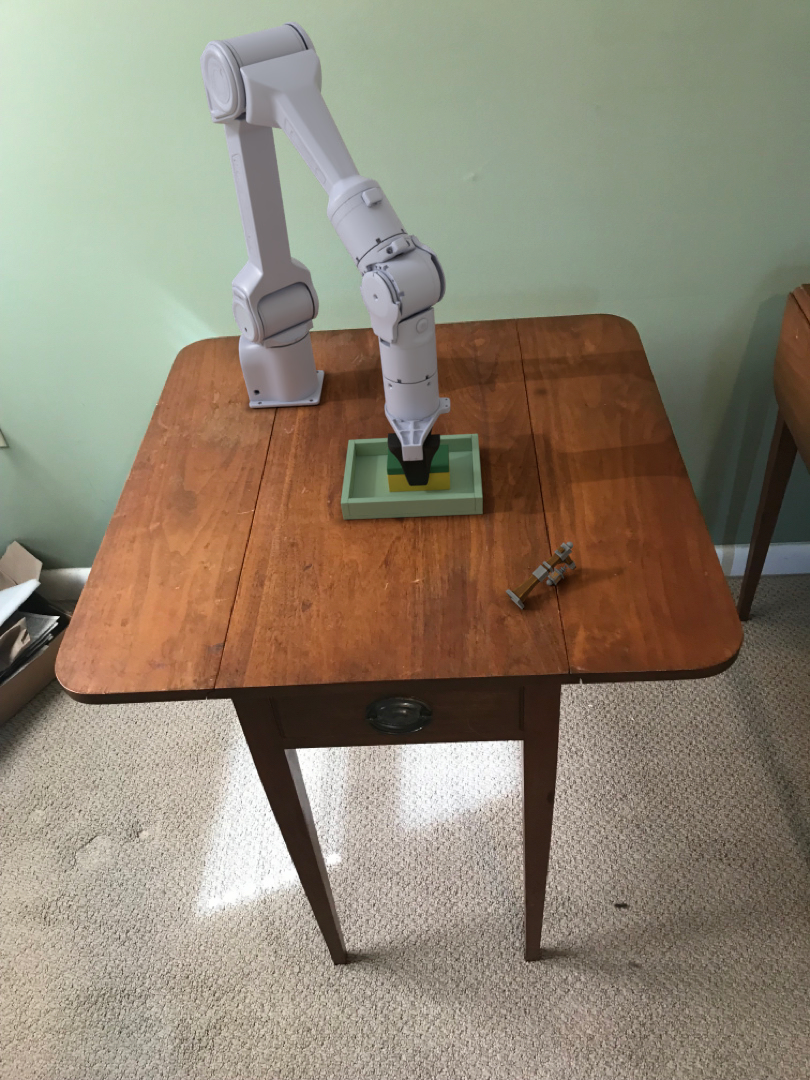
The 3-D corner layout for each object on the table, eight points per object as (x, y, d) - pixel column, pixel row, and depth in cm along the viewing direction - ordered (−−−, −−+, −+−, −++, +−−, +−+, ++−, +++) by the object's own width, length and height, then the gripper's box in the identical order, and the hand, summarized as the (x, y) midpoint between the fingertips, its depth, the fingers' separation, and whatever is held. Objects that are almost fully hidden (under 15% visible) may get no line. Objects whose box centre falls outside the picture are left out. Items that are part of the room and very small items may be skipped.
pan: (343, 519, 86) (340, 503, 85) (351, 455, 95) (348, 439, 93) (482, 514, 85) (482, 497, 84) (478, 450, 94) (477, 433, 92)
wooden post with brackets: (587, 564, 77) (576, 543, 74) (529, 619, 77) (516, 601, 74) (574, 554, 78) (563, 533, 75) (518, 608, 78) (504, 589, 75)
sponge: (389, 492, 88) (386, 468, 86) (390, 470, 91) (387, 446, 89) (450, 489, 88) (449, 465, 86) (449, 467, 91) (448, 443, 88)
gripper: (449, 407, 74) (454, 511, 83) (447, 331, 84) (451, 431, 94) (376, 411, 74) (389, 514, 84) (383, 334, 85) (394, 434, 94)
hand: (418, 471), depth 89 cm, fingers closed on sponge, 4 cm apart
